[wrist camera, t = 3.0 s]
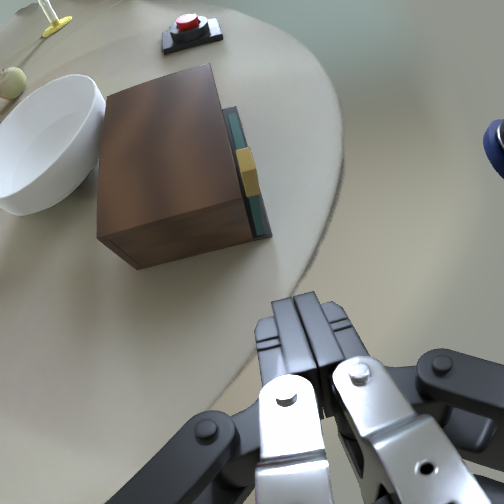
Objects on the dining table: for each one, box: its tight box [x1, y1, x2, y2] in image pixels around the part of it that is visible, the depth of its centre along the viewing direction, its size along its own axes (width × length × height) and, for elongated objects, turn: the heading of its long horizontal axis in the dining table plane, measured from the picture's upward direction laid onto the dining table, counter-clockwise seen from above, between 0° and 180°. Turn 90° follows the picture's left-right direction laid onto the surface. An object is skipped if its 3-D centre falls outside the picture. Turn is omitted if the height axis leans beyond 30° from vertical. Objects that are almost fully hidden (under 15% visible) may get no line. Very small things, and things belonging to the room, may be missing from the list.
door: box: [227, 113, 265, 236], centre depth 27 cm, size 1×9×10 cm, turn 12°
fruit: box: [0, 67, 26, 100], centre depth 46 cm, size 8×7×8 cm
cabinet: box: [97, 63, 272, 270], centre depth 31 cm, size 14×18×8 cm
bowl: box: [0, 74, 106, 216], centre depth 34 cm, size 20×20×8 cm
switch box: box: [162, 16, 223, 55], centre depth 44 cm, size 10×7×3 cm
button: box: [176, 14, 199, 30], centre depth 43 cm, size 4×4×2 cm
